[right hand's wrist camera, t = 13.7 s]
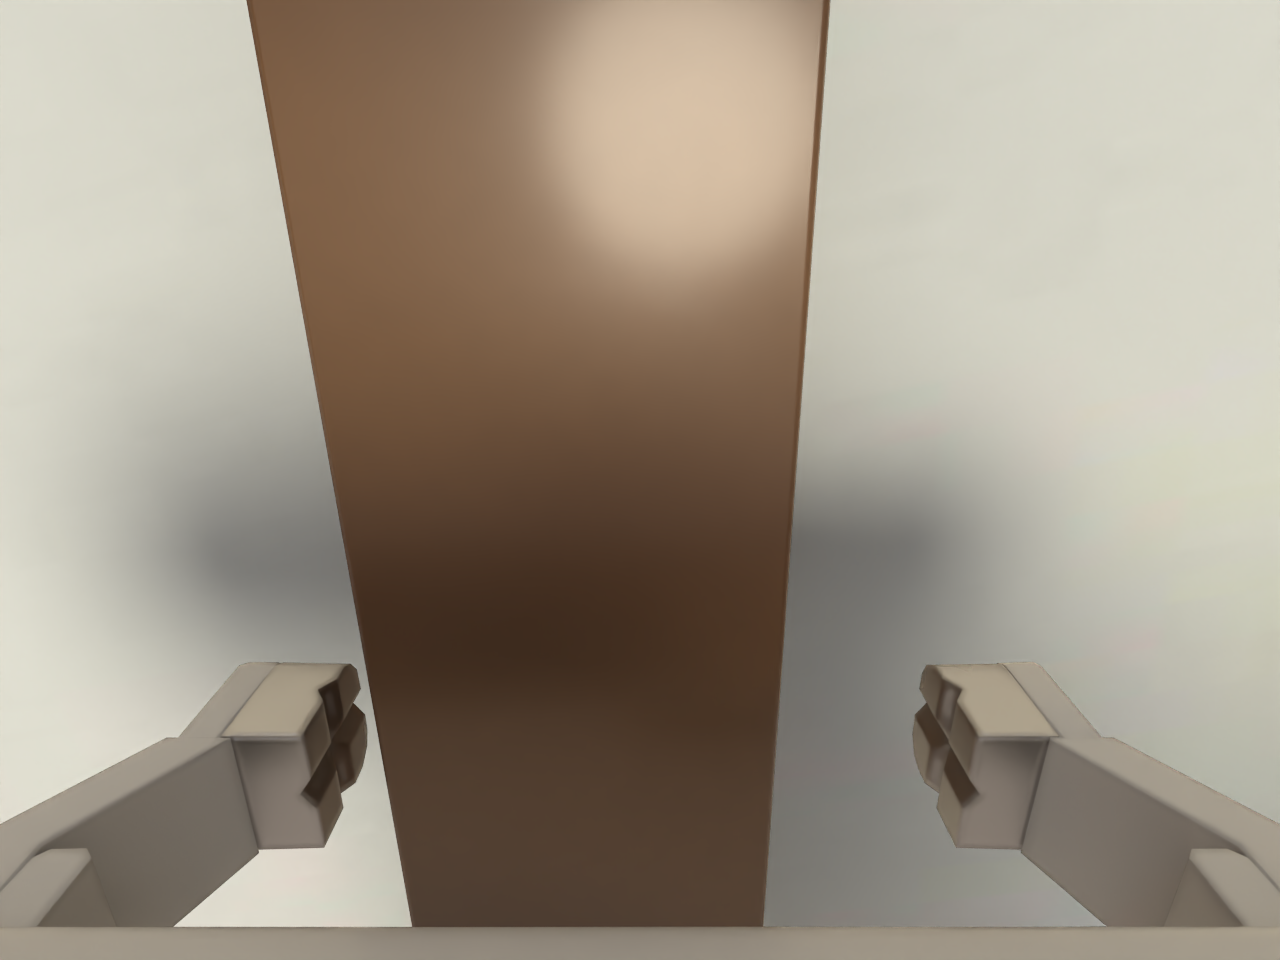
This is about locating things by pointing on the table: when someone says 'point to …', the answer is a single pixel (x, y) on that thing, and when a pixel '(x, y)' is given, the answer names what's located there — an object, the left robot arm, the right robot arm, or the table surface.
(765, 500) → the bar
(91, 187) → the table surface
